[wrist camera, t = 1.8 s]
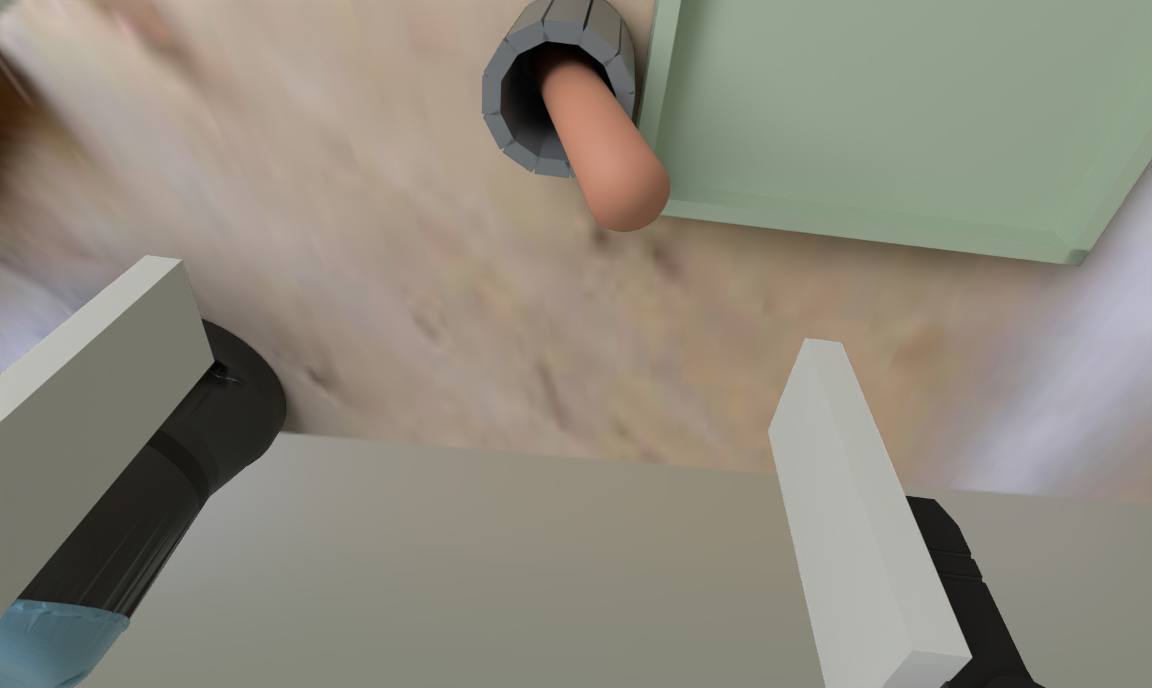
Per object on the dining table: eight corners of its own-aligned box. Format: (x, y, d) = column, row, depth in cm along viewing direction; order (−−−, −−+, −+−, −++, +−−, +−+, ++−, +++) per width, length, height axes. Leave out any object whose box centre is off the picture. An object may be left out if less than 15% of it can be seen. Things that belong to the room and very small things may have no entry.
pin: (528, 84, 35) (486, 221, 22) (531, 28, 33) (487, 140, 20) (640, 96, 35) (663, 239, 22) (648, 41, 33) (679, 161, 20)
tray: (626, 189, 39) (625, 210, 36) (687, -200, 28) (692, -205, 25) (1053, 241, 39) (1079, 266, 36) (1281, -126, 28) (1339, -124, 26)
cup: (507, 112, 36) (481, 167, 30) (512, -19, 32) (483, 11, 26) (623, 127, 36) (621, 184, 30) (642, -3, 32) (644, 31, 26)
